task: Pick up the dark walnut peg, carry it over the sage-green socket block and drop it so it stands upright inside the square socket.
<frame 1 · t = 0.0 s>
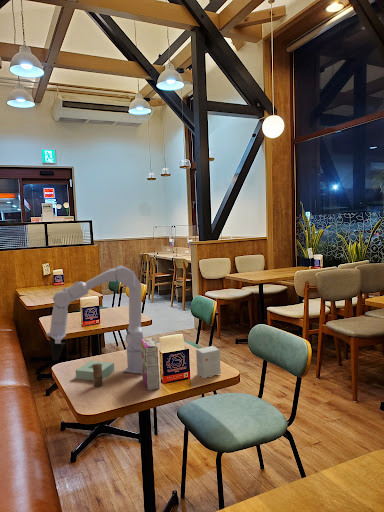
hand: (54, 357, 146), 11 cm above the table, tool pointing down, fingers open, 7 cm apart
candy bar box: (150, 384, 144), on the table
socket block: (95, 374, 155), on the table
small box: (208, 375, 151), on the table
walnut peg: (98, 385, 144), on the table
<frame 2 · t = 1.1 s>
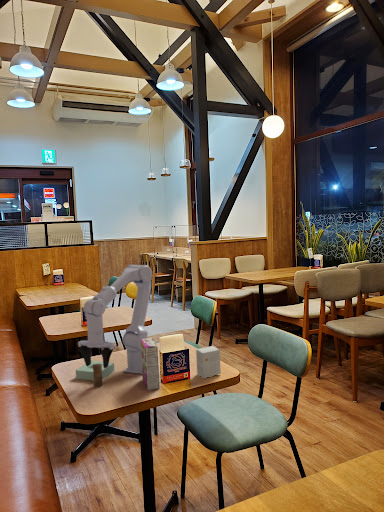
hand: (97, 366, 143), 8 cm above the table, tool pointing down, fingers open, 7 cm apart
nothing on the table moved.
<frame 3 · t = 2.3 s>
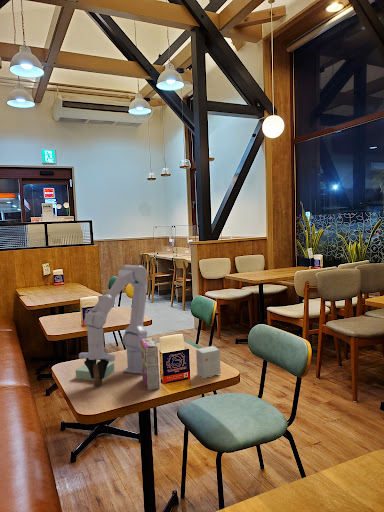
hand: (97, 378, 144), 3 cm above the table, tool pointing down, fingers closed on walnut peg, 3 cm apart
walnut peg: (98, 385, 144), on the table, touching gripper
everything else where it was.
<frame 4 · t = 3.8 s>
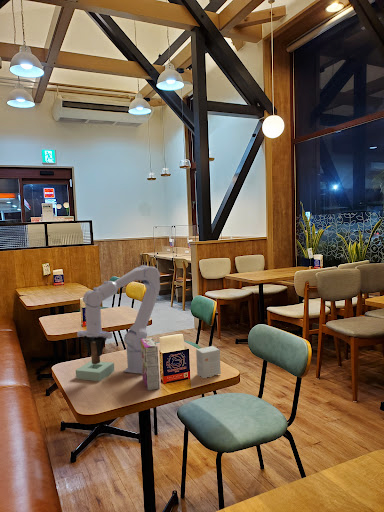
hand: (95, 355, 149), 10 cm above the table, tool pointing down, fingers closed on walnut peg, 3 cm apart
walnut peg: (95, 362, 149), point 7 cm above the table, touching gripper
everything else where it was.
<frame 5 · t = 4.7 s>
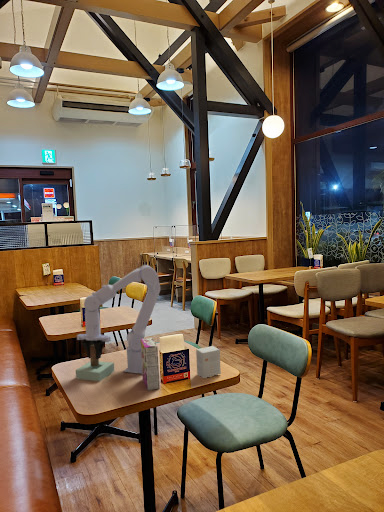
hand: (94, 357, 154), 7 cm above the table, tool pointing down, fingers closed on walnut peg, 3 cm apart
walnut peg: (94, 364, 154), point 4 cm above the table, touching gripper
everything else where it was.
when the fingers open (5 cm above the table, at t = 5.4 s): walnut peg drops 2 cm, resting in socket block.
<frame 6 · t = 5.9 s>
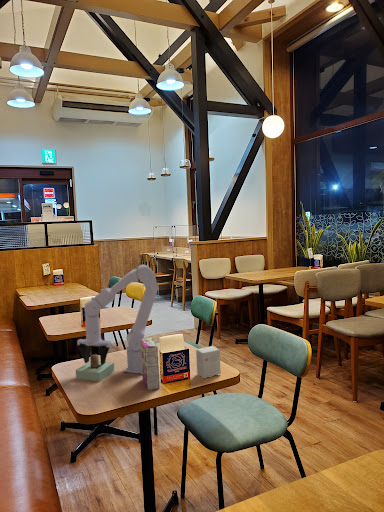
hand: (95, 363, 154), 5 cm above the table, tool pointing down, fingers open, 7 cm apart
walnut peg: (95, 374, 155), resting in socket block
everything else where it was.
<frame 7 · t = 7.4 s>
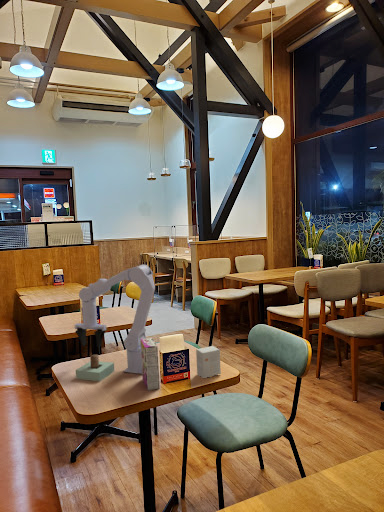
hand: (91, 345, 163), 9 cm above the table, tool pointing down, fingers open, 7 cm apart
nothing on the table moved.
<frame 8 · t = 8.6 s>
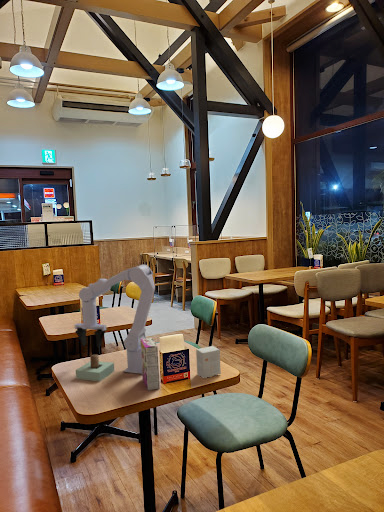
hand: (91, 345, 163), 9 cm above the table, tool pointing down, fingers open, 7 cm apart
nothing on the table moved.
at the end: walnut peg 0.1 cm off-centre on the socket block, point 0.0 cm above the socket block's base; walnut peg tilted 0°; the gripper is holding nothing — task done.
